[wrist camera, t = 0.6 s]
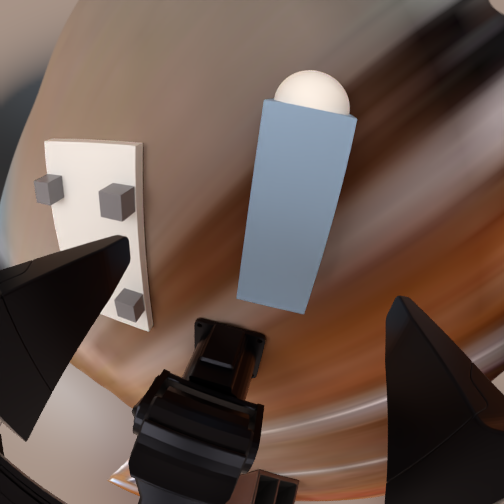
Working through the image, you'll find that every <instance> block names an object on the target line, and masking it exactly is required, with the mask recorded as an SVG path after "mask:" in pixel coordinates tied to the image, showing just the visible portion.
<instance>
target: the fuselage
mask: <svg viewBox="0 0 504 504" xmlns="http://www.w3.org/2000/svg"><path fill="white" fill-rule="evenodd" d="M349 112H350V104H349V99H348V96H347V94H346V91H345V90H344V88H343V87H342V86H341V84H340V83H339V82H338V81H337V80H336V79H334V78H333V77H331V76H330V75H328V74H325V73H323V72H319V71H314V70H306V71H300V72H297V73H294V74H292V75H290V76H289V77H287V78H286V79H285V80H284V81H283V82H282V83H281V84H280V86H279V87H278V89H277V91H276V94H275V97H274V98H273V99H266V100H264V104H263V110H262V117H261V124H260V131H259V138H258V145H257V152H256V159H255V166H254V173H253V180H252V187H251V195H250V202H249V209H248V216H247V224H246V231H245V238H244V246H243V253H242V261H241V268H240V276H239V283H238V291H237V298H236V299H240V300H244V301H248V302H253V303H257V304H261V305H265V306H269V307H274V308H278V309H282V310H287V311H291V312H296V313H300V314H304V312H305V309H306V306H307V303H308V300H309V297H310V294H311V291H312V288H313V285H314V282H315V279H316V275H317V272H318V269H319V266H320V262H321V259H322V256H323V252H324V249H325V245H326V242H327V239H328V235H329V232H330V228H331V224H332V221H333V217H334V213H335V210H336V206H337V202H338V199H339V195H340V191H341V187H342V183H343V179H344V175H345V171H346V167H347V163H348V158H349V154H350V150H351V145H352V141H353V137H354V132H355V127H356V123H357V118H355V117H354V116H352V115H351V114H349Z"/></svg>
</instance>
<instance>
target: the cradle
mask: <svg viewBox="0 0 504 504" xmlns="http://www.w3.org/2000/svg"><path fill="white" fill-rule="evenodd" d="M44 143H45V156H46V167H47V175H45V176H43V177H41V178H39V179H37V180H35V181H34V186H35V193H36V199H37V203H41V204H46V205H50V206H52V212H53V218H54V223H55V228H56V233H57V238H58V243H59V247H60V251H63V250H66V249H69V248H73V247H76V246H79V245H83V244H86V243H89V242H93V241H96V240H100V239H103V238H107V237H110V236H114V235H122V236H126V237H127V238H128V239H129V246H130V256H131V259H130V264H129V266H128V267H127V269H126V271H125V273H124V275H123V276H122V278H121V280H120V282H119V284H118V285H117V287H116V289H115V291H114V293H113V294H112V296H111V298H110V299H109V301H108V303H107V304H106V305H105V307H104V308H103V310H102V311H101V313H100V314H102V315H105V316H107V317H110V318H113V319H115V320H118V321H120V322H123V323H126V324H129V325H131V326H134V327H137V328H140V329H142V330H145V331H148V332H149V331H150V330H151V328H152V326H153V319H152V311H151V303H150V294H149V285H148V274H147V262H146V249H145V233H144V212H143V143H139V142H127V141H112V140H94V139H61V138H52V139H49V140H47V141H44Z"/></svg>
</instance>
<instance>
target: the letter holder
mask: <svg viewBox="0 0 504 504" xmlns="http://www.w3.org/2000/svg"><path fill="white" fill-rule="evenodd" d="M298 484H299V480H295V479H291V478H288V477H284V476H280V475H277V474H273V473H270V472H266V471H263V470H260V469H259V470H256V471H253V472H249V473H246V474H241V475H240V476H239V479H238V481H237V484H236V486H235V489H234V491H233V493H232V495H231V498H230V500H229V501H227V502H226V503H225V504H294V502H295V498H296V494H297V489H298Z"/></svg>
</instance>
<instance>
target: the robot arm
mask: <svg viewBox="0 0 504 504" xmlns="http://www.w3.org/2000/svg"><path fill="white" fill-rule="evenodd" d="M130 259H131V256H130V246H129V239H128V238H127V237H126V236H122V235H114V236H110V237H107V238H103V239H100V240H96V241H93V242H89V243H86V244H83V245H79V246H76V247H73V248H69V249H66V250H63V251H59V252H56V253H53V254H50V255H47V256H44V257H40V258H37V259H34V260H33V261H32V260H31V261H28V262H25V263H22V264H19V265H16V266H12V267H9V268H6V269H2V270H0V426H1V424H2V423H3V424H5V425H6V426H7V427H8V428H9V429H10V430H12V431H13V432H14V433H16V434H17V435H18V436H19V437H20V438H22V439H23V440H24V441H25V442H26V441H27V440H28V438H29V436H30V434H31V432H32V430H33V428H34V426H35V424H36V422H37V420H38V418H39V416H40V414H41V412H42V411H43V408H44V407H45V405H46V403H47V401H48V399H49V397H50V395H51V394H52V391H53V390H54V388H55V386H56V385H57V383H58V381H59V379H60V378H61V376H62V374H63V372H64V370H65V369H66V367H67V365H68V364H69V362H70V360H71V359H72V357H73V355H74V354H75V352H76V351H77V349H78V347H79V346H80V344H81V342H82V341H83V339H84V338H85V336H86V335H87V333H88V331H89V330H90V328H91V327H92V325H93V324H94V322H95V321H96V319H97V317H98V316H99V314H100V313H101V311H102V310H103V308H104V307H105V305H106V304H107V303H108V301H109V299H110V298H111V296H112V294H113V293H114V291H115V289H116V287H117V285H118V284H119V282H120V280H121V278H122V276H123V275H124V273H125V271H126V269H127V267H128V266H129V264H130ZM260 339H261V340H260ZM265 341H266V337H265V336H264V335H262V334H259V333H255V332H251V331H246V330H242V329H239V328H235V327H231V326H227V325H223V324H219V323H216V322H212V321H208V320H205V319H201V318H198V319H197V320H196V322H195V351H194V353H193V355H192V357H191V359H190V361H189V364H188V366H187V368H186V370H185V372H184V374H183V377H182V378H181V377H179V376H177V375H174V374H172V373H170V371H167V370H165V369H164V370H163V372H162V373H161V375H160V376H159V375H158V376H157V377H156V378H155V380H154V382H153V384H152V385H151V387H150V388H149V390H148V391H147V393H146V394H145V395H144V396H143V398H142V399H141V400H140V401H139V402H138V403H137V404H136V405H135V406H134V407H133V410H132V413H133V416H134V418H135V419H134V425H133V433H134V434H136V435H138V436H137V439H136V441H135V444H134V447H133V450H132V452H131V456H130V459H129V470H130V475H131V477H133V478H135V480H136V484H137V487H138V491H139V494H140V499H139V502H138V504H225V503H226V502H227V501H229V500H230V498H231V495H232V493H233V491H234V489H235V486H236V484H237V481H238V479H239V476H240V474H241V473H243V474H246V473H247V472H248V471H249V470H250V468H251V466H252V464H253V462H254V460H255V457H256V454H257V451H258V448H259V443H260V437H261V428H262V420H263V412H264V405H261V404H254V403H251V402H248V401H245V399H246V395H247V392H248V388H249V385H250V381H251V378H255V377H256V376H257V372H258V368H259V364H260V361H261V357H262V353H263V349H264V345H265ZM385 367H386V383H387V405H388V461H387V483H386V494H385V504H504V395H503V394H502V393H501V392H500V391H499V390H498V389H497V388H496V387H495V386H494V384H493V383H492V382H491V381H490V380H489V379H488V378H487V377H486V376H485V375H484V374H483V373H482V372H481V371H480V370H479V369H478V367H477V366H476V365H475V364H474V363H472V361H471V360H470V359H469V358H468V357H467V355H466V354H465V353H464V352H463V351H462V350H461V349H460V348H459V347H458V346H457V345H456V344H455V343H454V342H453V341H452V340H451V339H450V338H449V337H448V336H447V334H446V333H445V332H444V331H443V330H442V329H441V328H440V327H439V326H438V325H437V324H436V323H435V322H434V321H433V320H432V319H431V318H430V317H429V316H428V315H427V314H426V313H425V312H424V311H423V310H422V309H421V308H419V307H418V306H417V305H416V304H415V303H414V302H413V301H412V300H411V299H410V298H409V297H405V296H397V297H396V298H395V300H394V302H393V304H392V306H391V308H390V310H389V312H388V315H387V318H386V347H385ZM0 504H67V503H65V502H64V501H62V500H61V499H59V498H58V497H56V496H55V495H53V494H52V493H50V492H49V491H47V490H46V489H44V488H43V487H42V486H40V485H39V484H37V483H36V482H35V481H34V480H32V479H31V478H30V477H28V476H27V475H26V474H25V473H23V472H22V471H21V470H20V469H18V468H17V467H16V466H15V465H14V464H12V463H11V462H10V461H9V460H8V459H7V458H5V457H4V452H3V446H2V439H1V434H0Z"/></svg>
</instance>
